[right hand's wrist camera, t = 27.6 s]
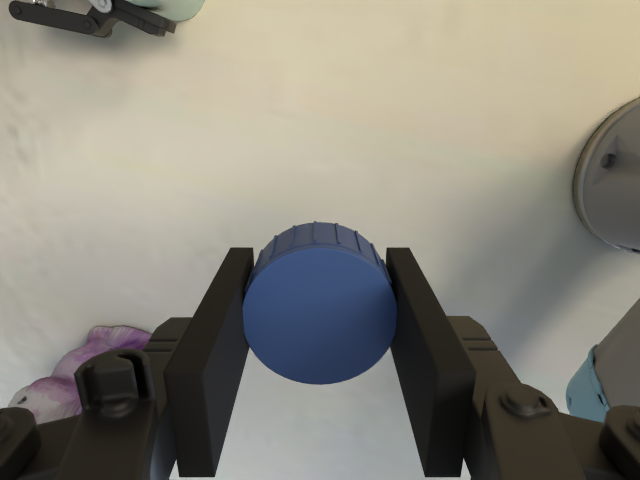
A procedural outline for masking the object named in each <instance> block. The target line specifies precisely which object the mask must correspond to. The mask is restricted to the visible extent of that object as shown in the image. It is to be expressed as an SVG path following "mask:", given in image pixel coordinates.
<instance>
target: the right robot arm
mask: <svg viewBox="0 0 640 480" xmlns="http://www.w3.org/2000/svg"><path fill="white" fill-rule="evenodd" d="M573 193H574V201H575V206H576V209H577V212H578V215H579V217H580V219H581V220H582V222H583V224H584V225H585V226H586V227H587V229H588V230H589V231H590V232H591V233H592V234H594V235H595V236H596V237H598V238H599V239H601V240H603V241H604V242H606V243H608V244H610V245H612V246H614V247H616V248H618V249H621V250H624V251H628V252H632V253H637V254H640V98H638V99H636V100H634V101H632V102H630V103H628V104H627V105H625V106H623V107H622V108H621V109H619V110H618V111H616V112H615V113H614V114H613V115H612V116H610V117H609V118H608V119H607V120H606V121H605V122H604V123H603V124H602V125H601V126H600V127H599V128H598V130H597V131H596V132H595V133H594V135H593V136H592V137H591V139H590V140H589V142H588V143H587V145H586V147H585V149H584V151H583V153H582V155H581V157H580V159H579V162H578V165H577V168H576V172H575V177H574V190H573ZM253 267H254V256H253V248H230V250H229V252H228V253H227V255H226V257H225V259H224V261H223V263H222V264H221V266H220V268H219V270H218V272H217V274H216V275H215V277H214V279H213V281H212V283H211V285H210V286H209V288H208V290H207V292H206V294H205V296H204V298H203V299H202V301H201V303H200V305H199V307H198V309H197V310H196V312H195V314H194V316H193V317H171V318H170V319H168V320H167V321H166V322H164V323H163V324H161V325H160V326H159V327H157V328H156V330H155V331H154V333H153V334H152V336H151V337H150V339H149V342H147V343H146V345H145V346H144V348H143V349H142V351H141V350H138V349H134V348H119V349H114V350H110V351H105V352H103V353H101V354H98V355H96V356H94V357H91V358H90V359H88V360H87V361H86V362H84V363H83V364H81V365H80V366H79V368H78V369H77V370H76V371H75V373H74V378H75V382H76V386H77V390H78V394H79V398H80V402H81V406H82V411H81V414H78V415H75V416H72V417H68V418H64V419H59V420H55V421H50V422H46V423H41V424H37V423H36V420H35V416H34V414H33V413H32V412H31V411H30V410H29V409H27V408H21V407H10V408H1V409H0V480H169V477H170V474H171V472H172V469H173V466H174V464H175V461H176V459H177V465H178V472H179V477H215V474H216V470H217V466H218V463H219V459H220V455H221V452H222V448H223V444H224V440H225V437H226V433H227V429H228V425H229V422H230V418H231V414H232V410H233V407H234V403H235V399H236V395H237V392H238V388H239V384H240V380H241V377H242V373H243V369H244V365H245V362H246V358H247V354H248V350H249V347H250V346H249V344H248V342H247V340H246V338H245V335H244V325H243V311H242V305H243V301H244V298H245V294H246V293H244V291H245V288H246V285H247V282H248V279H249V276H250V273H251V271H252V268H253ZM386 268H387V270H388V273H389V276H390V278H391V281H392V285H391V287H392V289H393V292H394V295H395V298H396V302H397V318H396V331H395V336H394V339H393V341H392V343H391V345H390V348H391V351H392V355H393V359H394V363H395V366H396V370H397V374H398V378H399V381H400V385H401V389H402V393H403V396H404V400H405V404H406V408H407V411H408V415H409V419H410V423H411V426H412V430H413V434H414V438H415V441H416V445H417V449H418V453H419V456H420V460H421V464H422V468H423V471H424V475H425V477H460V476H461V470H462V464H463V457H464V460H465V462H466V465H467V468H468V470H469V473H470V475H471V480H640V298H639V299H638V301H637V302H636V303H635V304H634V305H633V306H632V307H631V309H630V310H629V311H628V312H627V313H626V314H625V315H624V317H623V318H622V319H621V320H620V321H619V322H618V323H617V325H616V326H615V327H614V328H613V329H612V330H611V331H610V332H609V334H608V335H607V336H606V337H605V338H604V339H603V340H602V342H601V343H600V344H599V345H597V344H596V345H595V346H593V347H592V348H591V350H590V351H589V354H588V358H587V359H586V360H585V362H584V363H583V364H582V366H581V367H580V368H579V370H578V371H577V372H576V373H575V375H574V376H573V377H572V379H571V380H570V382H569V383H568V386H567V390H566V401H567V407H568V409H569V412H570V415H568V414H564V413H561V412H559V411H558V409H557V407H556V406H555V404H554V403H553V401H552V400H551V399H550V398H549V397H547V396H546V395H545V394H544V393H542V392H541V391H539V390H537V389H535V388H533V387H531V386H529V385H526V384H522V383H521V382H520V381H519V379H518V378H517V376H516V375H515V373H514V372H513V370H512V369H511V367H510V366H509V364H508V363H507V361H506V360H505V358H504V357H503V355H502V354H501V352H500V351H498V348H497V346H496V345H495V343H494V342H493V341H491V337H490V336H489V334H488V333H487V332H486V330H485V329H484V327H483V326H482V325H480V324H479V323H478V322H476V321H475V320H473V319H472V318H471V317H469V316H446V315H445V313H444V311H443V309H442V307H441V305H440V304H439V302H438V300H437V298H436V296H435V294H434V293H433V291H432V289H431V287H430V285H429V283H428V282H427V280H426V278H425V276H424V274H423V272H422V271H421V269H420V267H419V265H418V263H417V261H416V259H415V258H414V256H413V254H412V252H411V250H410V248H387V251H386Z"/></svg>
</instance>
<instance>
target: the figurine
mask: <svg viewBox="0 0 640 480" xmlns="http://www.w3.org/2000/svg"><path fill="white" fill-rule="evenodd" d="M151 336H152V334H149V333H147V332H144V331H141V330H138V329H135V328H131V327H126V326H119V327H113V328H111V327H102V326H98V327H93V328H92V329H91V330H90V333H89V337H88V339H87V342H86V345H84V346H82V347H80V348H78V349H75V350H73V351H71V352H69V353H67V354H66V355H65V356H64V357H63V358H62V359H61V360H60V362H59V363H58V364H57V366H56V367H55V369H54V371H53V373H52V375H51V376H50V377H45V378H41V379H39V380H36V381H35V382H33V383H32V384H31V385H29V386H26V387H24V388H22V389H21V390H19V391H18V392H17V393H16V394H15V395H14V397H13V399H12V400H11V402H10V403H9V405H8V407H7V408H10V407H21V408H27V409H29V410H30V411H31V412H32V413H33V414H34V416H35V420H36V423H37V424H41V423H46V422H50V421H55V420H59V419H64V418H68V417H72V416H75V415H78V414H81V411H82V406H81V402H80V398H79V394H78V390H77V386H76V382H75V378H74V373H75V371H76V370H77V369H78V368H79V366H80V365H81V364H83V363H84V362H86V361H87V360H88V359H90V358H91V357H94V356H96V355H98V354H101V353H103V352H105V351H110V350H114V349H119V348H134V349H138V350H141V351H142V349H143V348H144V346H145V345H146V343H147V342H149V339H150V337H151Z"/></svg>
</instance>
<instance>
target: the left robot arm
mask: <svg viewBox="0 0 640 480" xmlns="http://www.w3.org/2000/svg"><path fill="white" fill-rule="evenodd" d="M88 1H89V2H90V3H91V4H92V5H93V6H92V8H91V9H90V11H89V12H88V14H87V15H83V14H78V13H73V12H69V11H64V10H59V9H55V4H54V2H53V0H17V1H16V0H15V1H12V2H11V3H10V4H9V12H10V14H11V15H12V17H14V18H15V19H17V20H21V21H26V22H31V23H35V24H40V25H45V26H50V27H54V28H59V29H64V30H69V31H74V32H78V33H83V34H88V35H93V36H98V37H102V38H108V37H110V36H111V34H112V27H113V26H114V24H115V23H116V22H118V21H124V22H126V23H128V24H130V25H132V26H134V27H136V28H138V29H140V30H143V31H145V32H147V33H149V34H152V35H155V36H164V35H165V32H166V31H168V32H171V33H174V31H175V28H176V25H177V24H176V23H174V22H171V21H169V20H167V19H165V18H163V17H161V16H159V15H157V14H155V13H153V12H151V11H149V10H147V9H144V8H142V7H140V6H138V5H135V4H133V3H130V2H128V1H126V0H88Z"/></svg>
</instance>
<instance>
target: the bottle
mask: <svg viewBox="0 0 640 480" xmlns="http://www.w3.org/2000/svg"><path fill="white" fill-rule="evenodd" d="M126 1H128V2H130V3H133V4H135V5H138V6H140V7H142V8H144V9H147V10H149V11H151V12H154V13H156V14H158V15H160V16H163V17H165V18H167V19H170V20H174V21H184V20H188V19H190V18H192V17H193V16H195V15H196V14H197V13H198V12H199V10H200V9H201V7H202V5H203V2H204V0H126Z"/></svg>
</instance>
